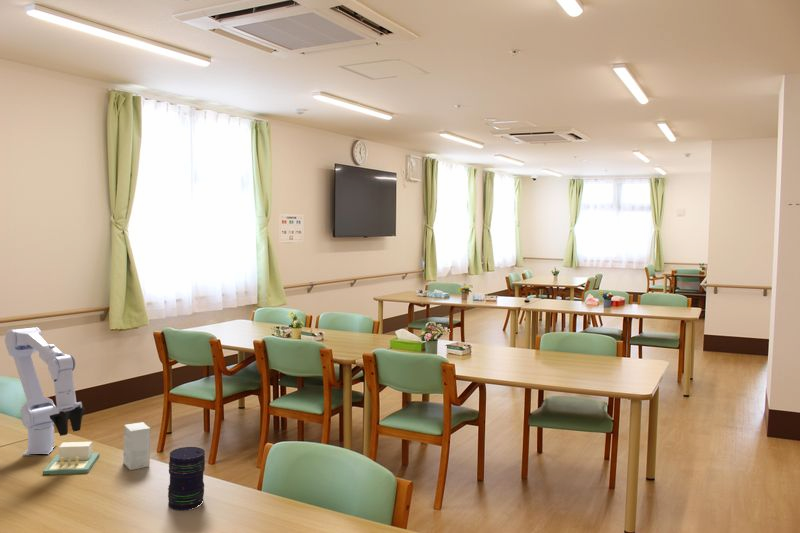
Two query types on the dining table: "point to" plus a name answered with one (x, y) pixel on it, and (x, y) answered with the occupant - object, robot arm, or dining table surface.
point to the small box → (136, 445)
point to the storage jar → (186, 478)
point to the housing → (75, 450)
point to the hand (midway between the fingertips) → (70, 433)
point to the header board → (70, 465)
